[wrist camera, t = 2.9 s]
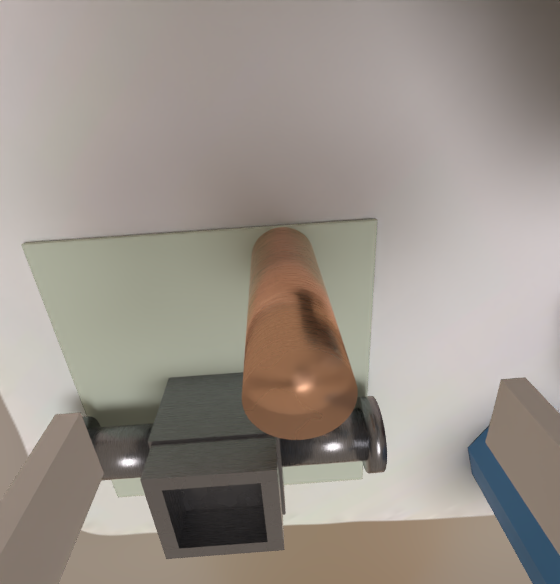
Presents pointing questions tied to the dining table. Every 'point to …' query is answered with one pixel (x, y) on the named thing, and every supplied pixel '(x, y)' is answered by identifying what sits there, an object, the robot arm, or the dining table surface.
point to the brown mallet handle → (293, 343)
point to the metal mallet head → (223, 465)
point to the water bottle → (514, 515)
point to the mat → (186, 315)
